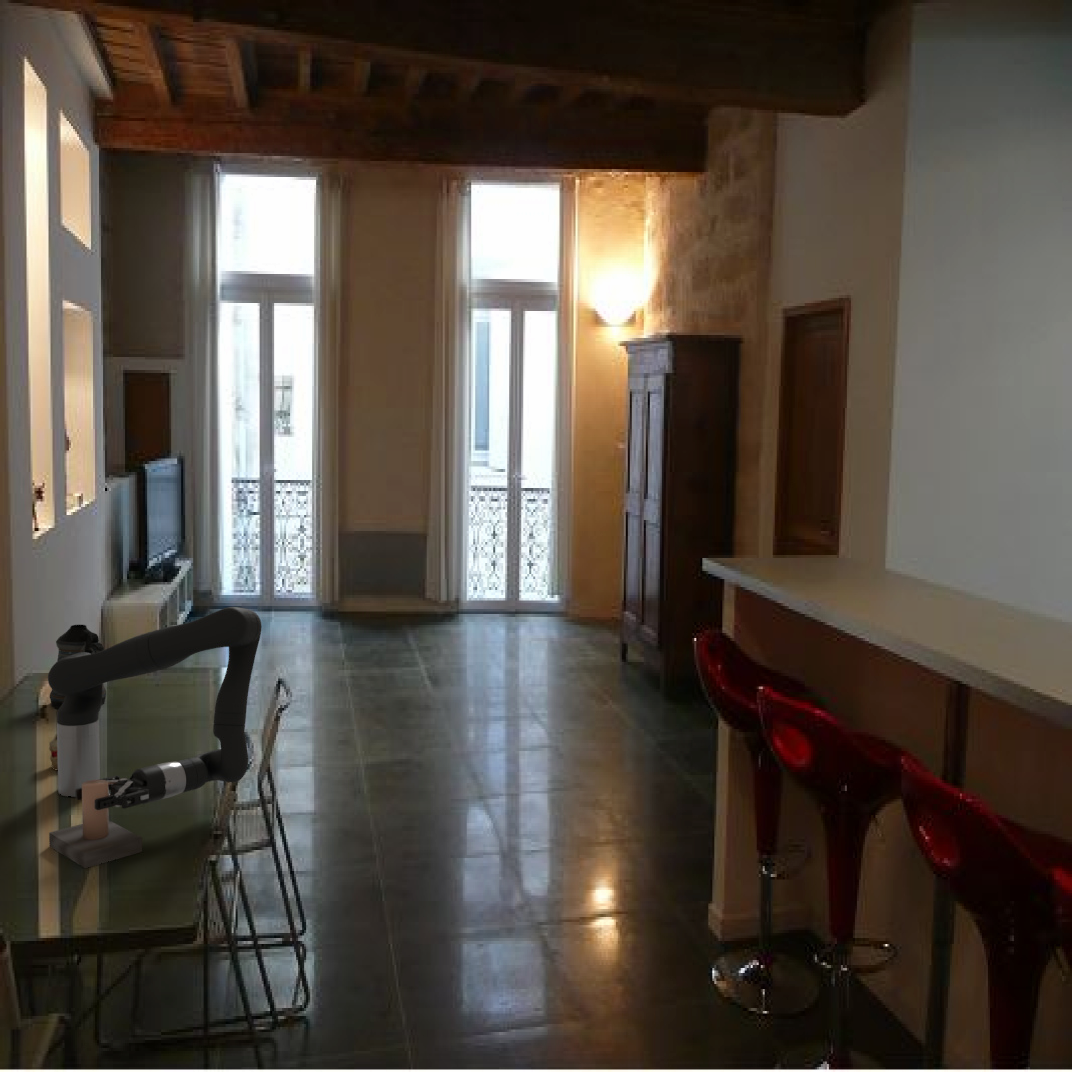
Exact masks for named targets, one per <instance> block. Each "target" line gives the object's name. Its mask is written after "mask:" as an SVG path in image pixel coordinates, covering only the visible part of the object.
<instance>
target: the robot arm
mask: <svg viewBox="0 0 1072 1072" xmlns="http://www.w3.org/2000/svg"><path fill="white" fill-rule="evenodd" d="M261 634H262V621H261V618H260V616H259V615H258V614H257V613H256V612H255V611H254V610H252V609H249V608H244V607H239V606H229V607H224V608H222V609H219V610H217V611H214V612H212V613H210V614H207V615H205V616H203V617H200V618H198V619H196V620H193V621H189V622H187V623H180V624H176V625H171V626H168V627H164V628H159V629H155V630H152V631H149V632H146V633H142V634H139V635H136V636H133V637H131V638H128V639H126V640H124V641H121V642H119V643H117V644H114V645H112V646H110V647H107V648H104V649H105V650H103V651H100V652H97V653H93V654H90V653H87V652H80V653H76V654H73V655H71V656H68V657H65V658H63V659H60V660H59V661H56V662H55V663H54V664H53V665H52V666H51V668H50V670H49V672H48V675H47V682H48V684H49V687H50V688H51V690H52V689H53V690H54V691H55V692H56V693H58V694H61V695H65V699H64V702H63V704H62V705H61V707H60V708H59V709H57V711H56V733H57V750H58V752H57V755H58V771H57V789H58V791H57V792H58V794H59V795H60V794H61V795H60V796H62V797H68V796H71V797H73V798H75V799H76V800H80V801H82V784H83V783H84V782H87V781H90V780H106V781H108V796H106V797H102V798H98V799H96V800H95V809H96V810H101V809H105V808H108V809H109V808H113V807H114V808H120V807H121V809H123V810H125V809H127V808H131V807H135V806H139V805H141V804H142V805H144V804H149V803H152V802H157V801H160V800H166V799H168V798H172V797H174V796H177V795H179V794H182V793H183V794H184V793H187V792H191V791H194V790H197V789H200V788H202V787H203V786H204V785H205V784H206V783H208V782H209V783H210V782H214V781H220V782H224V783H225V782H226V783H236V782H239V781H241V780H242V779H243V778H244V776H245V774H246V772H247V770H248V766H249V752H248V744H247V737H246V731H245V730H246V718H247V707H248V697H249V691H250V683H251V678H252V673H253V669H254V663H255V659H256V655H257V651H258V647H259V644H260V639H261ZM220 648H228V659H227V660H228V662H227V668H226V670H225V675H224V677H223V681H222V683H221V685H220V688H219V690H218V693H217V696H216V700H215V705H214V706H215V707H214V714H213V715H214V716H213V726H212V729H213V730H212V731H213V735H214V737H216V739H218V740H219V745H220V748H219V749H217V748H216V749H212V750H208V751H206V752H203V753H200V754H198V755H196V756H193V757H190V758H183V759H180V760H175V761H168V762H162V763H157V764H153V765H150V766H145V767H140V768H136V769H135V770H134V771H133V772H132V774H131V776H130V778H120V775H114V776H109V777H104V778H101V774H100V773H101V772H100V771H101V770H100V769H101V768H100V764H101V763H100V723H99V722H100V721H99V719H100V718H99V716H100V715H99V714H100V710H101V708H102V706H103V705H102V688H103V684H106V683H108V682H112V681H119V680H124V679H129V678H133V677H138V676H142V675H147V674H151V673H154V672H157V671H161V670H164V669H169V668H170V667H173V666H176V665H177V664H179V663H181V662H183V661H184V660H186V659H187V658H189V657H190V656H191V657H192V656H193V655H195V654H197V653H201V652H205V651H209V650H214V649H220Z"/></svg>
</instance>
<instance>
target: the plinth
mask: <svg viewBox="0 0 1072 1072" xmlns="http://www.w3.org/2000/svg"><path fill="white" fill-rule="evenodd" d="M48 839H49V846H50V847H49V848H51V847H52V848H51V849H53V850H54V849H55V850H54V851H56V852H57V853H59V854H61V855H62V856H63V857H64V856H65V857H66V858H67V859H69V860H71V861H73V862H74V863H76V864H77V865H79V866H80V867H82V868H84V869H88V867H89V868H91V867H94V866H98V865H102V864H106V863H108V861H109V862H112V861H114V860H115V859H116V860H118V859H122V858H126V857H128V856H129V857H130V856H132V855H136V854H139V853H142V852H143V837H141V836H139V835H138V834H136V833H134V832H132V831H130V830H128V829H126V828H125V827H123V826H121V825H119V824H117V823H115V822H113V821H111V820H109V835H108V836H106V837H104V838H101V839H95V840H89V839H85V838H83V823H81V824H77V825H73V826H70V827H66V828H60V829H58V830H54V831H49V832H48ZM116 860H115V861H116ZM101 863H102V864H101Z"/></svg>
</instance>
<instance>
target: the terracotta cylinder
mask: <svg viewBox="0 0 1072 1072" xmlns="http://www.w3.org/2000/svg"><path fill="white" fill-rule="evenodd" d="M106 796H108V781H106V780H90V781H87V782H84V783H83V784H82V799H81V804H82V805H81V808H82V810H81V811H82V815H81V816H82V824H83V838H85V839H89V840H95V839H101V838H104V837H106V836H108V835H109V821H110V818H109V817H110V816H109V812H110V811H109V808H105V809H101V810H96V809H95V800H96V799H98V798H102V797H106Z"/></svg>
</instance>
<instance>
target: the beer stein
mask: <svg viewBox="0 0 1072 1072" xmlns="http://www.w3.org/2000/svg"><path fill="white" fill-rule="evenodd" d="M99 639H100V638H99V636H98V634H97V633H95V632H92V631H90V630H89V629H88V627H87V624H73V625H70V627H69V628H68V630H67V631H66V632H64V633H63V634H61V635H60V636H59V637H58V638H57V639H56V640H55V644H56V647H57V649H58V653H57V654H58V655H57V661H59V660H60V659H63V658H65V657H68V656H71V655H73V654H76V653H80V652H87V653H90V654H93V653H97V652H100V651H103V650H105V649H106V648H104V645H103V644H102V643H101V642H99V641H100V640H99ZM57 661H56V662H57ZM104 684H105V683H103V688H102V705H101V706H103V705H104V704H105V703H106V697H107V689H106V687H105V685H104ZM49 699H50V704H51V705H50V706H51V707H52V708H53V709H55V710H59V708H60V707H61V705H62V704H63V702H64V699H65V695H61V694H58V693H56V692H55V691H54V690H53V689H52V688H51V691H50V693H49Z"/></svg>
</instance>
